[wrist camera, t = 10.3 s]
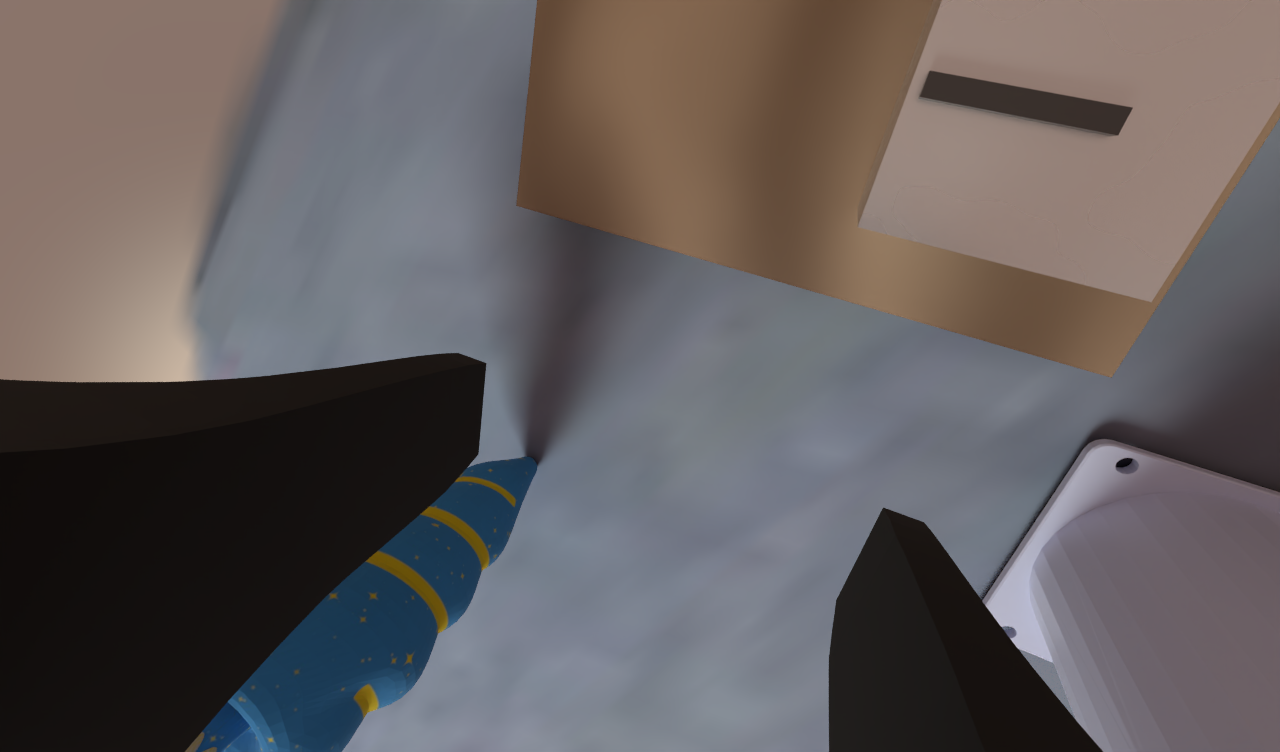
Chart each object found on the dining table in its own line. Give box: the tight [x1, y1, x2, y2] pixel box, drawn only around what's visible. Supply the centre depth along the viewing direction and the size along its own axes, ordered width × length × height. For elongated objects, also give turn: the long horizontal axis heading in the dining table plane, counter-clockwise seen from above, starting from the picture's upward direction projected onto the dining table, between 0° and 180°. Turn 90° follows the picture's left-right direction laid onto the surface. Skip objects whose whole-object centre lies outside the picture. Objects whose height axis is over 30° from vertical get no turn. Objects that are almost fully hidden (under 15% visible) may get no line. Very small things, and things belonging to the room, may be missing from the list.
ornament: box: [185, 457, 537, 752], centre depth 18 cm, size 5×5×15 cm
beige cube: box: [857, 0, 1280, 302], centre depth 11 cm, size 5×5×5 cm
